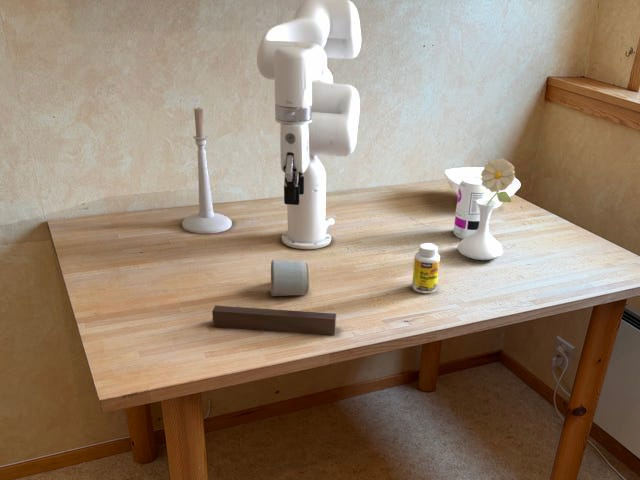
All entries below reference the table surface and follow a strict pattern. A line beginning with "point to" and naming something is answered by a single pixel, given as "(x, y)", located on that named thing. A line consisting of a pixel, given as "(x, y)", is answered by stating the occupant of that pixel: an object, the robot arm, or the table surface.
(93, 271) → the table surface
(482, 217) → the flower in vase
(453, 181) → the bowl
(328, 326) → the board
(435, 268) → the supplement bottle
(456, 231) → the supplement can
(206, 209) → the candlestick
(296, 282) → the ceramic mug
